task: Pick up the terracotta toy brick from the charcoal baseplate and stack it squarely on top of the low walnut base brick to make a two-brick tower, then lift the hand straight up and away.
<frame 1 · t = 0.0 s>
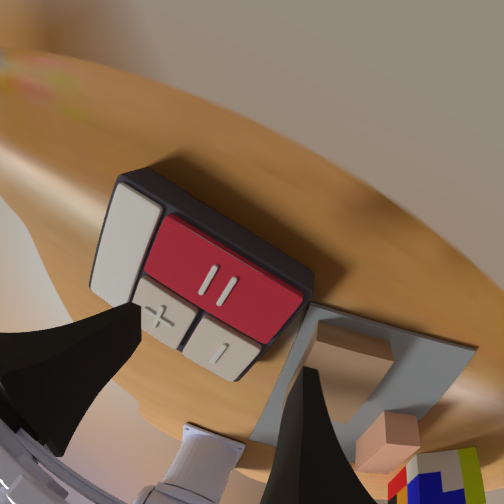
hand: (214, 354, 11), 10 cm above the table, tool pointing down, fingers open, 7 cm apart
calculator: (198, 271, 23), on the table
puzzle toy: (431, 466, 26), on the table
baseplate: (352, 407, 24), on the table
terracotta brick: (385, 429, 23), resting on baseplate
walnut base brick: (335, 367, 22), resting on baseplate
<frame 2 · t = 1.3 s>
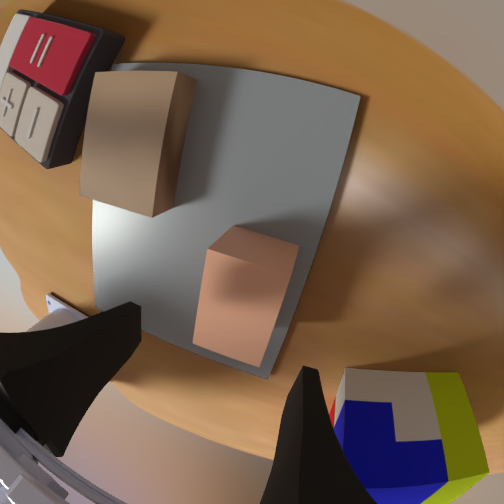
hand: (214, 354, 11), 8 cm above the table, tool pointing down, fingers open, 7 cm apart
calculator: (53, 76, 17), on the table
puzzle toy: (386, 409, 20), on the table
baseplate: (188, 224, 18), on the table
terracotta brick: (254, 279, 18), resting on baseplate
walnut base brick: (143, 137, 16), resting on baseplate
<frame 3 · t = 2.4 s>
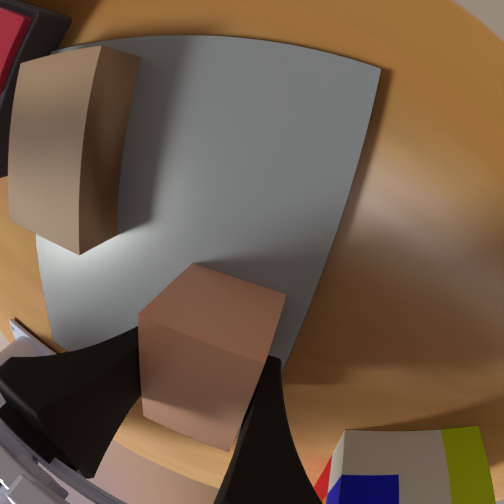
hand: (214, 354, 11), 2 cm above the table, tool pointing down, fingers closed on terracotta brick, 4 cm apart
calculator: (6, 69, 12), on the table
puzzle toy: (390, 463, 15), on the table
baseplate: (138, 257, 13), on the table
terracotta brick: (224, 334, 13), resting on baseplate, touching gripper
walnut base brick: (78, 141, 11), resting on baseplate
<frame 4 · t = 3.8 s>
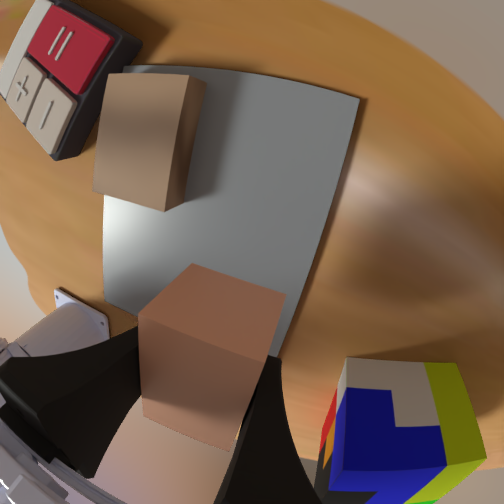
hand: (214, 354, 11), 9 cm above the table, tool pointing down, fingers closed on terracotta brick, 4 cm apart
calculator: (69, 66, 18), on the table
puzzle toy: (386, 399, 21), on the table
baseplate: (197, 219, 19), on the table
terracotta brick: (224, 334, 13), point 7 cm above the table, touching gripper
walnut base brick: (154, 136, 17), resting on baseplate
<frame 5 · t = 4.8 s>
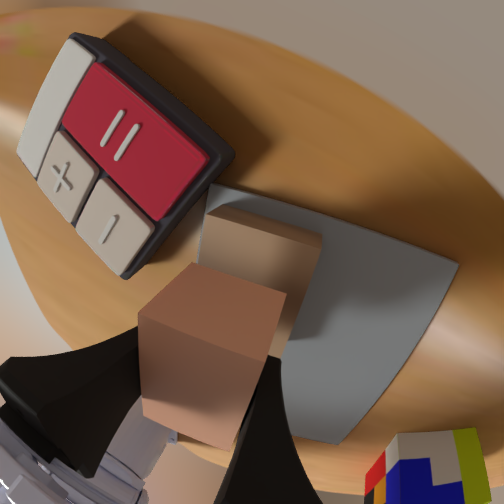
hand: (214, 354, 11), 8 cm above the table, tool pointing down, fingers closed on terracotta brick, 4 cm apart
calculator: (119, 145, 18), on the table
puzzle toy: (419, 453, 22), on the table
baseplate: (294, 351, 20), on the table
terracotta brick: (224, 334, 13), point 6 cm above the table, touching gripper
walnut base brick: (255, 278, 18), resting on baseplate
when the fingers open (6 cm above the table, at t = 5.5 s): terracotta brick drops 1 cm, resting on walnut base brick.
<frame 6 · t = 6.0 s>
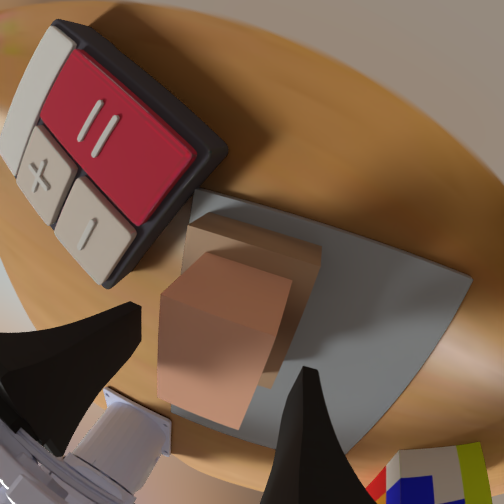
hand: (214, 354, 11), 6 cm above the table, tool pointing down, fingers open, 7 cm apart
calculator: (103, 140, 16), on the table
puzzle toy: (421, 468, 20), on the table
baseplate: (290, 370, 18), on the table
terracotta brick: (234, 319, 14), point 3 cm above the table, touching walnut base brick
walnut base brick: (246, 294, 16), resting on baseplate, touching terracotta brick
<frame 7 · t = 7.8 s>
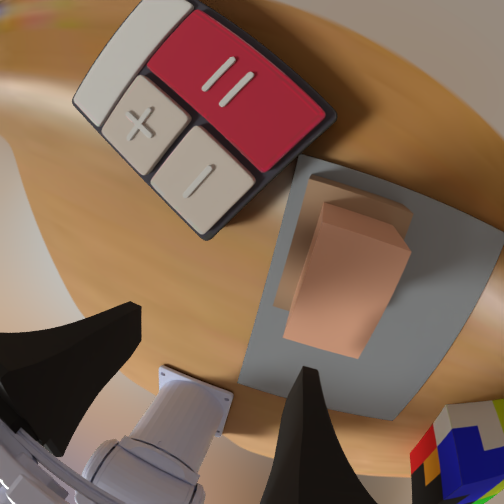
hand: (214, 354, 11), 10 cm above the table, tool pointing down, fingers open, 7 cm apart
calculator: (200, 101, 18), on the table
puzzle toy: (460, 427, 22), on the table
baseplate: (366, 322, 20), on the table
terracotta brick: (341, 263, 16), point 3 cm above the table, touching walnut base brick
walnut base brick: (339, 248, 18), resting on baseplate, touching terracotta brick
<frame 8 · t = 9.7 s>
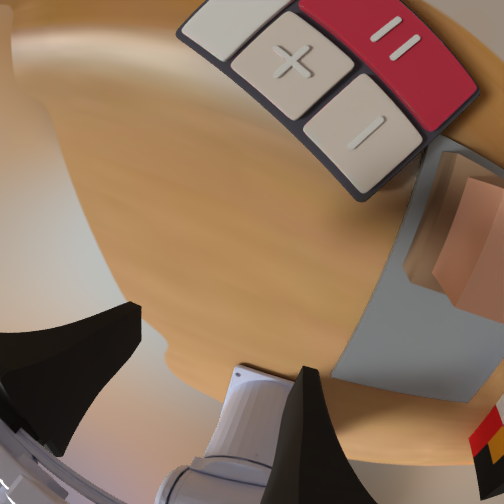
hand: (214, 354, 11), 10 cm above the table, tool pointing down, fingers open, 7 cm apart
calculator: (331, 58, 15), on the table
baseplate: (467, 300, 17), on the table
terracotta brick: (475, 237, 13), point 3 cm above the table, touching walnut base brick
walnut base brick: (459, 225, 15), resting on baseplate, touching terracotta brick
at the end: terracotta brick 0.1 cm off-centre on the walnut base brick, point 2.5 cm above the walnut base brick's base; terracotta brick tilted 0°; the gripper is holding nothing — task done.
